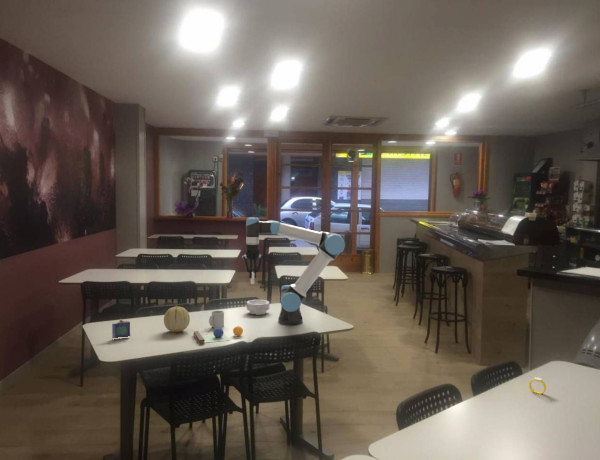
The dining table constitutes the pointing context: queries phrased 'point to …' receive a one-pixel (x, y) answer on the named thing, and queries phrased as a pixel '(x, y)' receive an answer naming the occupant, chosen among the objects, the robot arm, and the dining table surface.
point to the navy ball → (218, 332)
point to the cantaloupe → (176, 319)
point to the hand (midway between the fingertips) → (252, 283)
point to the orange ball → (238, 331)
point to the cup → (217, 319)
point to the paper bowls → (258, 306)
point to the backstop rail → (199, 337)
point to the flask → (121, 329)
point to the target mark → (214, 338)
